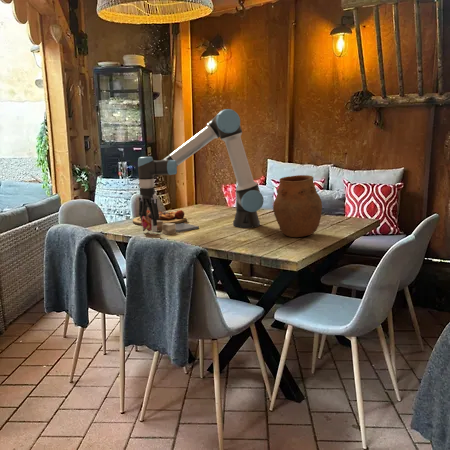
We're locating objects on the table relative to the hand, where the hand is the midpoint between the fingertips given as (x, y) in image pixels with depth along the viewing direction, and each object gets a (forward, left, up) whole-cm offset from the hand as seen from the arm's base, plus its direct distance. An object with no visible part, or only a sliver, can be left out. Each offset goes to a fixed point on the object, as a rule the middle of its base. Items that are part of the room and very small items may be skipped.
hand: (149, 230), depth 226 cm
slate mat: (-1, -20, -2) cm, 20 cm away
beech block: (-6, -8, -2) cm, 10 cm away
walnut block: (+5, -8, -2) cm, 10 cm away
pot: (-56, -52, -2) cm, 76 cm away
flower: (0, 0, 0) cm, 0 cm away
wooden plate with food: (+26, -24, -2) cm, 35 cm away
